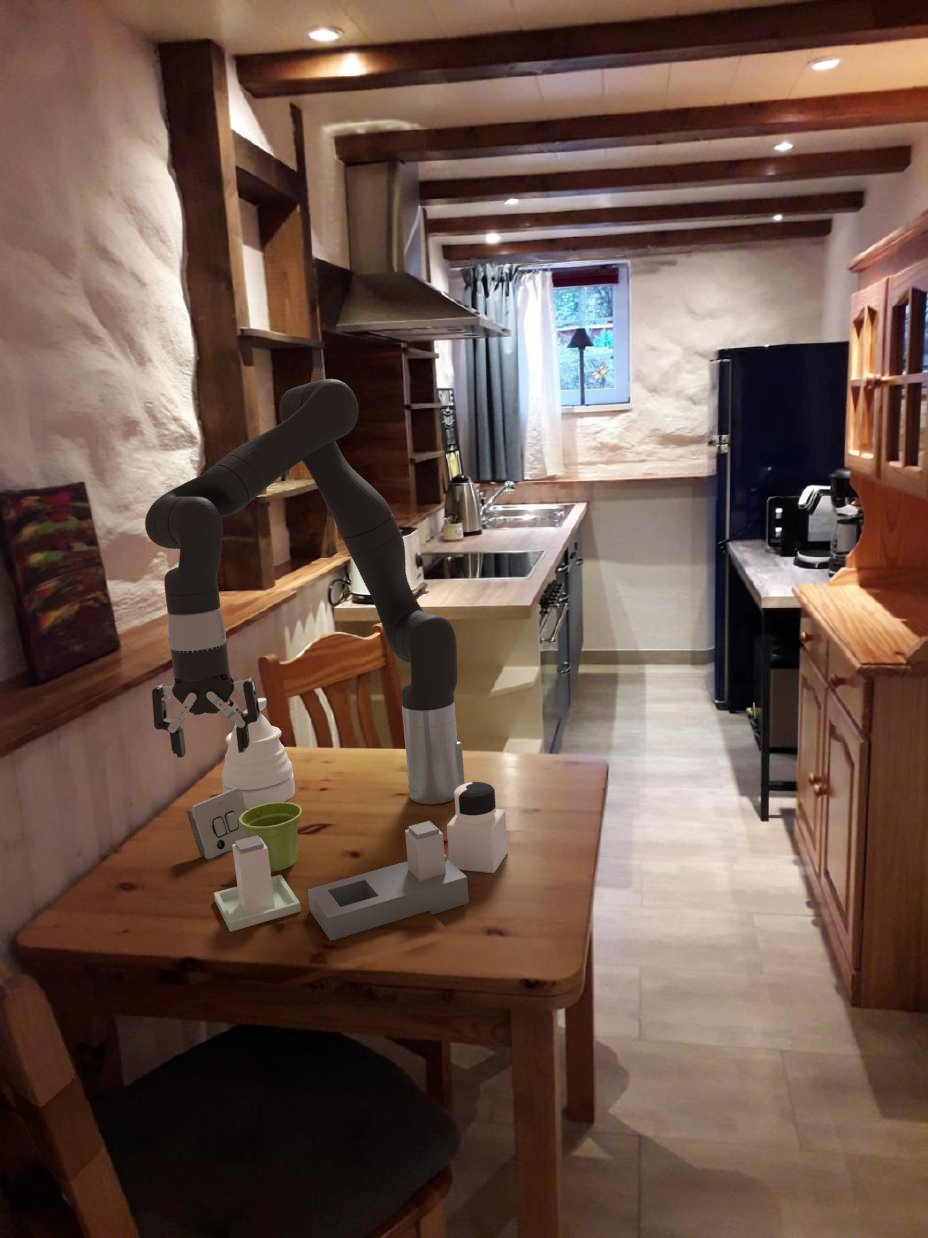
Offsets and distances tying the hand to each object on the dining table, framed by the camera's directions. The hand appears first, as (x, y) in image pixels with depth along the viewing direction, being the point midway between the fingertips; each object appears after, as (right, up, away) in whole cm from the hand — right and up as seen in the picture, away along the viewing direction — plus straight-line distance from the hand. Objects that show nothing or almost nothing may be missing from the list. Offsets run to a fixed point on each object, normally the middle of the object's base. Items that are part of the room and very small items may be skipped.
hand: (212, 753), depth 134 cm
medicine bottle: (+38, -18, +10) cm, 43 cm away
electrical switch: (-4, -19, +20) cm, 27 cm away
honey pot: (-2, -14, +41) cm, 43 cm away
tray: (+7, -22, -1) cm, 23 cm away
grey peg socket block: (+25, -21, -3) cm, 33 cm away
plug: (+7, -21, -1) cm, 22 cm away
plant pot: (+7, -19, +13) cm, 24 cm away
